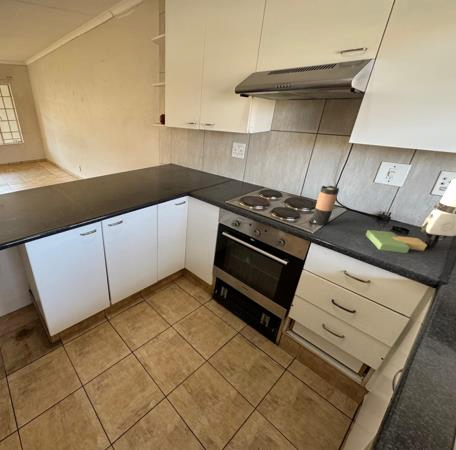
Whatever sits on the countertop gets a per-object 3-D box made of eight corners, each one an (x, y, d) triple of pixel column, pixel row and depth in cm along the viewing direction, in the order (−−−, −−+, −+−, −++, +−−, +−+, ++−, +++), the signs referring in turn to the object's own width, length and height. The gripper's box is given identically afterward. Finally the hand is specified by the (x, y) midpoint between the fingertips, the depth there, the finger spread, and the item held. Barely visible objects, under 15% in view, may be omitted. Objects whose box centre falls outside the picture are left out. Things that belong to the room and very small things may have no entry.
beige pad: (415, 243, 113) (418, 238, 112) (423, 250, 108) (427, 244, 107) (387, 240, 116) (390, 235, 115) (394, 247, 111) (397, 241, 109)
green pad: (390, 237, 118) (392, 232, 117) (407, 253, 106) (410, 247, 105) (365, 235, 121) (367, 229, 120) (379, 249, 109) (382, 244, 108)
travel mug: (324, 227, 129) (336, 191, 120) (308, 222, 134) (319, 187, 125) (329, 223, 133) (341, 187, 124) (314, 218, 138) (324, 184, 129)
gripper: (434, 210, 99) (413, 248, 108) (482, 214, 96) (456, 253, 104) (422, 203, 106) (403, 240, 114) (466, 206, 102) (444, 244, 110)
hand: (428, 246), depth 109 cm, fingers closed
